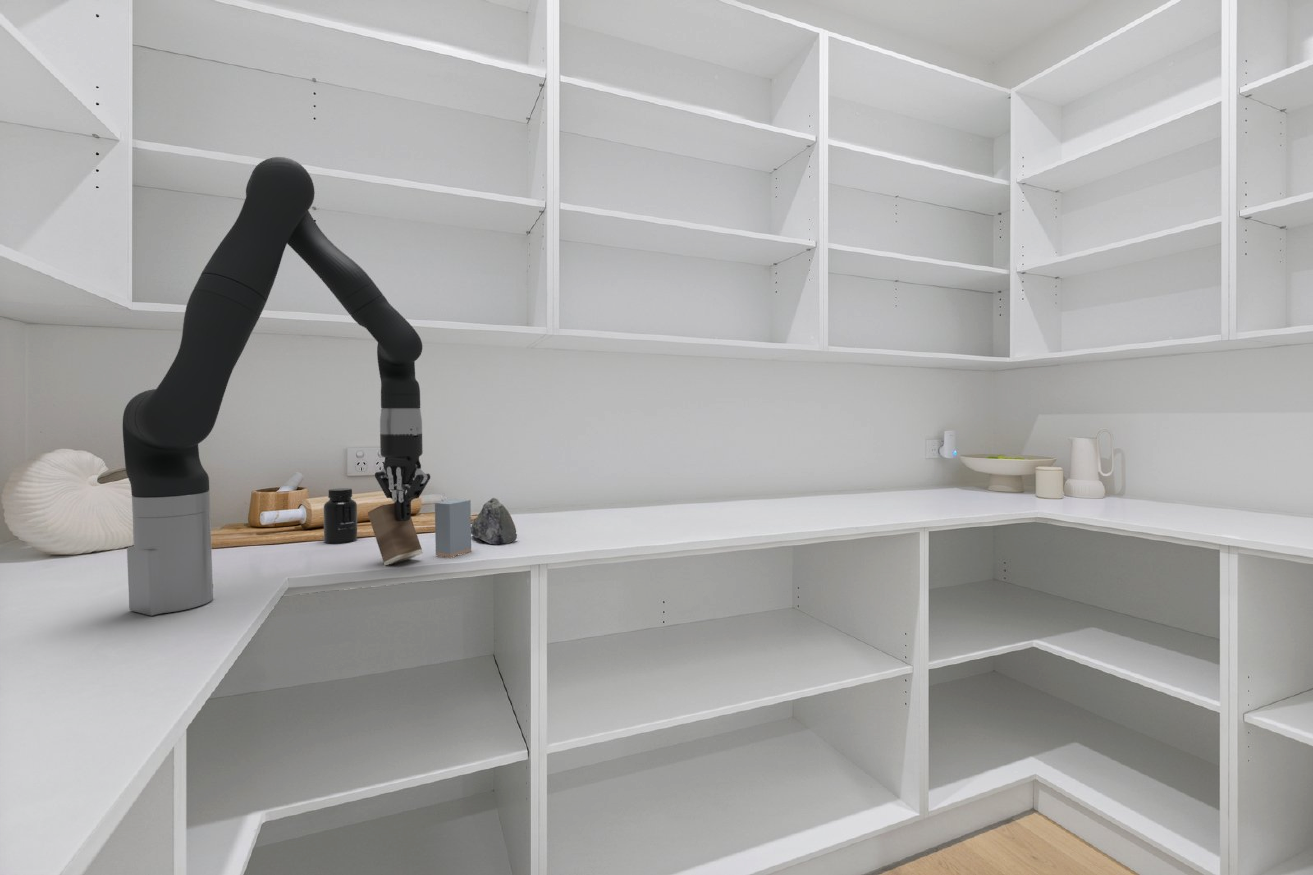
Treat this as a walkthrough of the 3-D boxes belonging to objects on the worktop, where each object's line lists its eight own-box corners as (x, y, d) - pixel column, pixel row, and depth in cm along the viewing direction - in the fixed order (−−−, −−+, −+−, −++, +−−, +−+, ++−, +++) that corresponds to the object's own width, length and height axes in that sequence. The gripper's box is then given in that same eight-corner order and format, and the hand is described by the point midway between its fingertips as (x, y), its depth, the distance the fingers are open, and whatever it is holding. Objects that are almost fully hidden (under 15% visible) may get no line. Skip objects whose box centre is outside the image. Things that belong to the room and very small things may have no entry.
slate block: (450, 558, 121) (449, 504, 120) (435, 556, 122) (434, 502, 122) (471, 551, 126) (470, 500, 126) (456, 549, 128) (455, 499, 127)
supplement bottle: (347, 544, 134) (346, 491, 133) (317, 544, 134) (316, 491, 133) (363, 537, 141) (362, 487, 140) (334, 537, 141) (333, 487, 140)
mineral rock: (470, 535, 143) (470, 494, 143) (516, 533, 146) (516, 492, 145) (466, 547, 131) (466, 502, 130) (517, 544, 133) (516, 500, 133)
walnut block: (398, 559, 113) (380, 505, 114) (384, 566, 115) (367, 512, 116) (422, 552, 118) (405, 501, 120) (409, 558, 120) (392, 507, 121)
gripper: (360, 432, 115) (362, 521, 115) (410, 433, 109) (412, 526, 110) (393, 431, 122) (394, 515, 122) (441, 431, 116) (443, 520, 117)
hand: (403, 520), depth 116 cm, fingers closed
